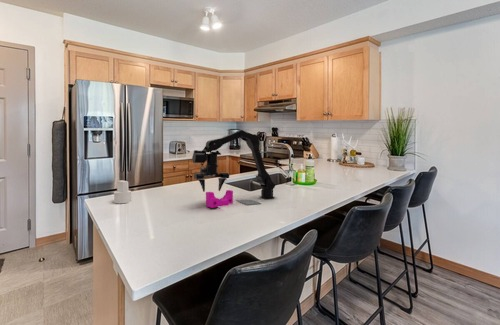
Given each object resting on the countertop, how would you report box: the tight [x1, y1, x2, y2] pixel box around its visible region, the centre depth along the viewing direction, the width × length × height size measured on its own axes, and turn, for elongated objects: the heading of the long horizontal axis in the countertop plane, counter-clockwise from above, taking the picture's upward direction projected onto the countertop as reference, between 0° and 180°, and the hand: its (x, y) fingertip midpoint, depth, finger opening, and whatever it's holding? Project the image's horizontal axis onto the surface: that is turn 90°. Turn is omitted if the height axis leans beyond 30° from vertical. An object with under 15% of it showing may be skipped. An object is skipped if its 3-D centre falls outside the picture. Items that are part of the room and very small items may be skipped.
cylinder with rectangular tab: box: [113, 180, 132, 204], centre depth 153 cm, size 9×9×12 cm
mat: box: [235, 199, 262, 206], centre depth 154 cm, size 9×18×1 cm, turn 28°
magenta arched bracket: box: [205, 189, 234, 209], centre depth 146 cm, size 15×6×8 cm, turn 127°
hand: (211, 191), depth 146 cm, fingers open, 9 cm apart
